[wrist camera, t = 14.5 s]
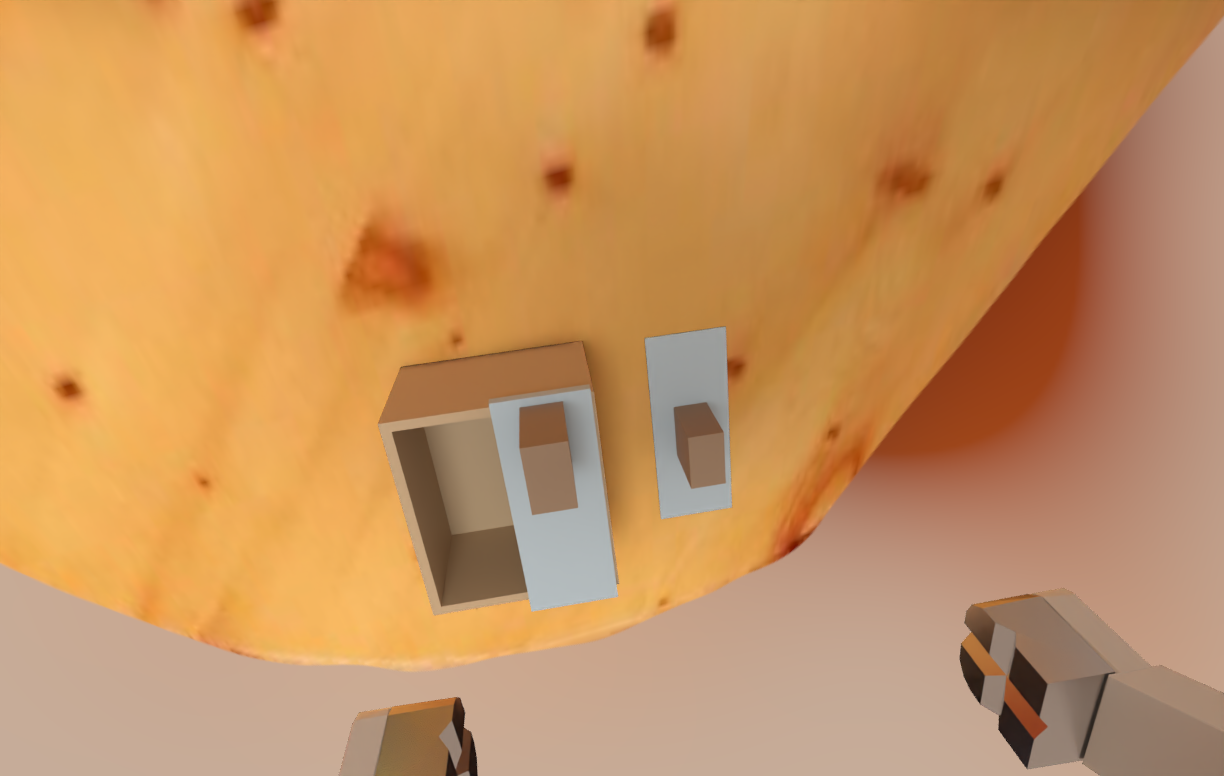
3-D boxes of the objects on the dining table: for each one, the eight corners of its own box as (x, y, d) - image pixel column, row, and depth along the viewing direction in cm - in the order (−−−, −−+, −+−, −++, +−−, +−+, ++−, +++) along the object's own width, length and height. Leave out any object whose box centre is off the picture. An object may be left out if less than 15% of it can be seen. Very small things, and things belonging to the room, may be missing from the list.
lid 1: (589, 384, 38) (599, 427, 33) (616, 590, 44) (628, 650, 39) (488, 399, 37) (484, 444, 33) (531, 604, 44) (532, 667, 39)
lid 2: (723, 323, 46) (746, 351, 42) (729, 502, 53) (749, 543, 48) (643, 335, 46) (657, 364, 41) (659, 514, 52) (673, 556, 48)
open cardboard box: (582, 340, 45) (593, 391, 38) (605, 513, 51) (619, 585, 44) (400, 367, 44) (377, 424, 37) (446, 538, 50) (434, 616, 43)
